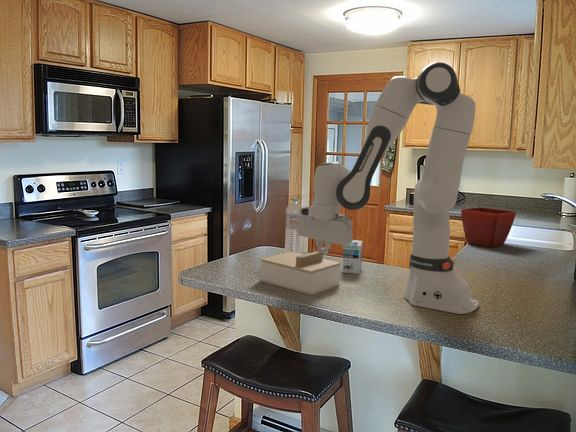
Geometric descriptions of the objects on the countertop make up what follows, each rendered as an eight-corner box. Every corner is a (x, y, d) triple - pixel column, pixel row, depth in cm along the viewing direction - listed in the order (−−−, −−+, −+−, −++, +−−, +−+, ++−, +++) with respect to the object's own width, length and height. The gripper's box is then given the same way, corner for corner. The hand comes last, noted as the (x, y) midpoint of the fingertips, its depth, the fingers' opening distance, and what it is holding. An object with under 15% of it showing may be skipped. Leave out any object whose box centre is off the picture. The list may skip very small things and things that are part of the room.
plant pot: (477, 238, 260) (480, 206, 257) (513, 245, 246) (517, 211, 243) (457, 242, 248) (460, 209, 245) (494, 250, 234) (497, 214, 231)
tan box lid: (340, 264, 170) (340, 254, 169) (311, 273, 158) (311, 262, 157) (290, 253, 184) (291, 243, 183) (260, 261, 172) (260, 250, 171)
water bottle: (303, 258, 206) (306, 198, 202) (297, 262, 200) (299, 200, 196) (288, 256, 209) (290, 197, 205) (281, 260, 203) (283, 198, 199)
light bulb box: (359, 274, 185) (361, 245, 184) (341, 272, 187) (343, 244, 185) (361, 267, 196) (363, 240, 194) (344, 265, 197) (345, 239, 195)
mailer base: (339, 285, 171) (340, 265, 170) (310, 295, 159) (311, 274, 158) (290, 272, 185) (290, 253, 184) (260, 281, 173) (260, 261, 172)
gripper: (358, 215, 157) (354, 258, 159) (307, 207, 170) (304, 246, 172) (346, 217, 152) (343, 261, 155) (295, 208, 165) (292, 249, 168)
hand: (322, 253), depth 164 cm, fingers closed
